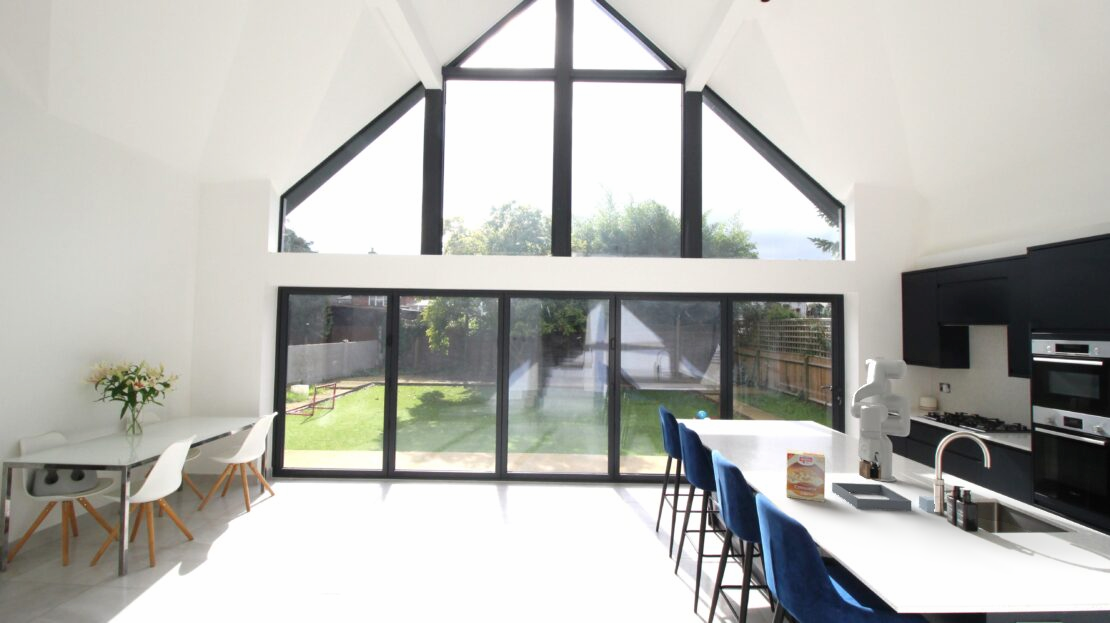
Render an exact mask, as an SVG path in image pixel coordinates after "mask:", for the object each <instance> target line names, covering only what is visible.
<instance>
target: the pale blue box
mask: <svg viewBox="0 0 1110 623" xmlns="http://www.w3.org/2000/svg"><path fill="white" fill-rule="evenodd" d="M934 498H935V497H934V496H932V495H931V496H930V495H928V496H927V495H919V496H918V508H919V509H920V508H921V509H920V510H922V511H924V512H926V513H935V512H934V509H935V504H934Z"/></svg>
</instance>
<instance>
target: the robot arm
mask: <svg viewBox="0 0 1110 623" xmlns="http://www.w3.org/2000/svg"><path fill="white" fill-rule="evenodd" d="M864 369H865V372H866V377H865V383H864V384H863V385H862V386H860V387H859V388H858V389H856V390H855V392H854V393H853V394H852V398H851V402H850V414H851V416H852V417H853V418H855V419H859V420H860V422H859V424H860V427H859V428H860V429H859V430H860V431H859V432H860V433H859V434H860V435H859V440H858V448H857V450H858V452H857V455H858V457H859V458H860V460H861V461H867V462H870V464H871V468H870V478H879V467H880V465H881V480H878V479H873V480H875V481H880V482H888V483H892V482H895V481H897V477H896V476H894V475H893V442H892V440H891V439H890V438H889V437H888V436H895V437H896V436H897V437H908V436H909V435H910V433H911V432H910V431H911V402H910V398H909V397H908V396H907V395H905V394H900V393H893V392H892V391H893V386H892V385H893V384H892V381H891V380H890V379H892V380H902V379H904V378H905V376H906V375H907V371H908V366H907V363H906V361H905V360H903V359H891V358H890V359H889V358H868V359H866V360H865V361H864ZM870 397H871V402H868V401H867V402H865V401H862V400H864V399H867V398H870ZM889 413H891V414H896V415H890V414H889ZM887 435H888V436H887ZM873 463H876V464H874V465H873Z"/></svg>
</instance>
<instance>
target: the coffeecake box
mask: <svg viewBox="0 0 1110 623" xmlns="http://www.w3.org/2000/svg"><path fill="white" fill-rule="evenodd" d="M785 467H786V472H785V475H786V476H785V477H786V478H785V479H786V480H785V495H786V498H790V497H791V498H792V499H798V500H805V499H806V500H807V501H812V500H813V502H819V501H821V503H824V502H825V485H826V484H825V483H826V456H825V454H824V453H822V452H812V451H803V450H793V449H786V466H785ZM806 500H805V501H806Z"/></svg>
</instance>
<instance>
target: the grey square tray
mask: <svg viewBox="0 0 1110 623" xmlns="http://www.w3.org/2000/svg"><path fill="white" fill-rule="evenodd" d="M831 491H833V492H832V493H834V494H835V493H836V494H835V495H836V496H838V495H839V496H838V497H840V498H841V497H842V498H843V500H844V499H845V500H846V501H845V500H844V501H845V502H847V503H848V502H849V505H851V504H852V505H851V506H853V507H854V508H855V509H858V510H859V509H861V510H879V509H881V510H880V511H903V510H906V511H908V512H911V511H912V500H911V499H908V498H907V497H905V496H903V495H901V494H899V493H897V492H896V491H894V490H892V489H891V488H889V487H887V486H885V485H883V484H881V483H880V484H879V483H877V484H876V483H857V482H856V483H854V482H853V483H851V482H832V484H831ZM849 492H855V493H854V494H871V493H876V495H877V494H878V495H882V496H883V497H884V498H887V499H883V498H882V499H880V498H864V497H863V498H861V497H857V496H856V495H854V494H853V493H849ZM842 498H841V499H842ZM888 498H889V499H888ZM906 511H905V512H906Z"/></svg>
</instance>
